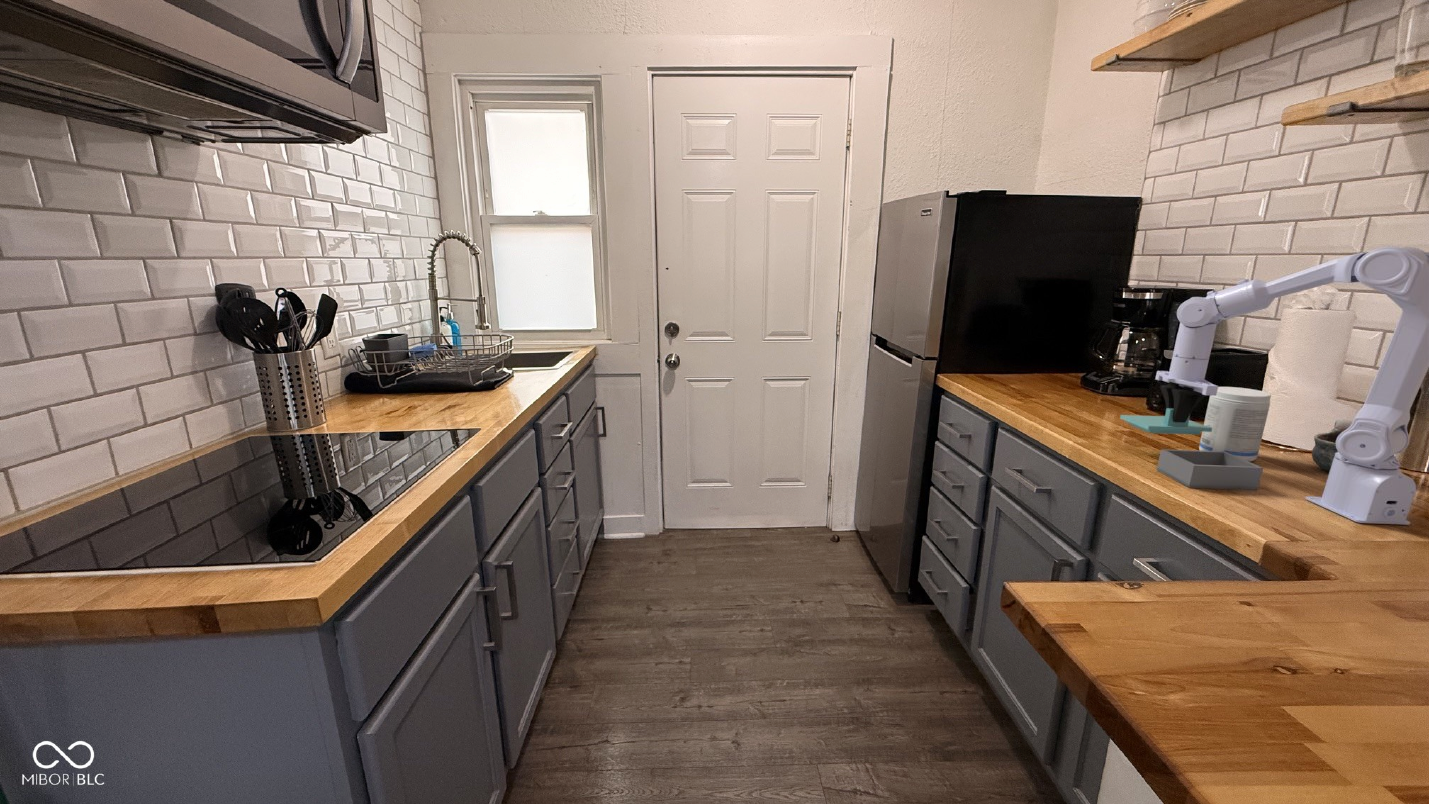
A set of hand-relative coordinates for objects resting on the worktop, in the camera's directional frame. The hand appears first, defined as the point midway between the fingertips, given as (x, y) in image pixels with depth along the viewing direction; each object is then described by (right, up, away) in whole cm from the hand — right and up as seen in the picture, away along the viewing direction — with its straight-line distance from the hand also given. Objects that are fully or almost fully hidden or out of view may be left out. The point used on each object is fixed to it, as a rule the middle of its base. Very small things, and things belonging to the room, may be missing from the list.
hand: (1176, 420), depth 117 cm
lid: (0, -2, +4) cm, 4 cm away
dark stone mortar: (+31, -10, -3) cm, 32 cm away
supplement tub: (+15, -8, +5) cm, 18 cm away
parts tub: (-1, -11, -8) cm, 14 cm away
